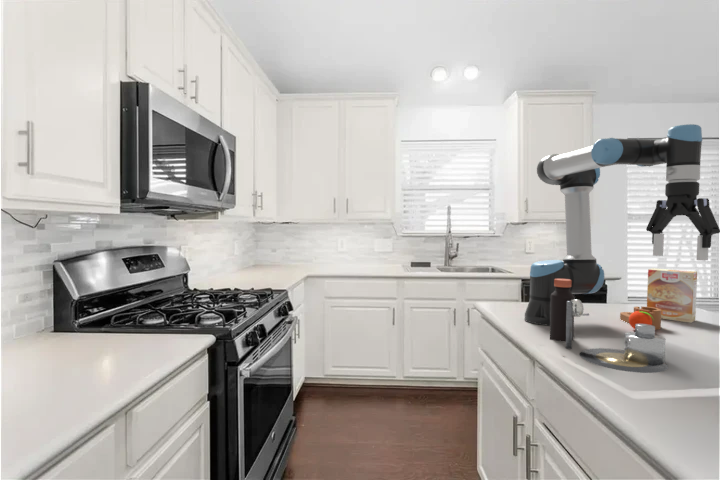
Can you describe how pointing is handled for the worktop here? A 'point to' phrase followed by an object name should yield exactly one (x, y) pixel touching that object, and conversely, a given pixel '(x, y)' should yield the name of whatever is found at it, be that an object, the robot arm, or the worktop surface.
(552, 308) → the bottle
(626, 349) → the cover
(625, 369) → the grey plate
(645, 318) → the clementine
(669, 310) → the coffeecake box
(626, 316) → the bracket
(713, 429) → the worktop surface
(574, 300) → the dial gauge stand
